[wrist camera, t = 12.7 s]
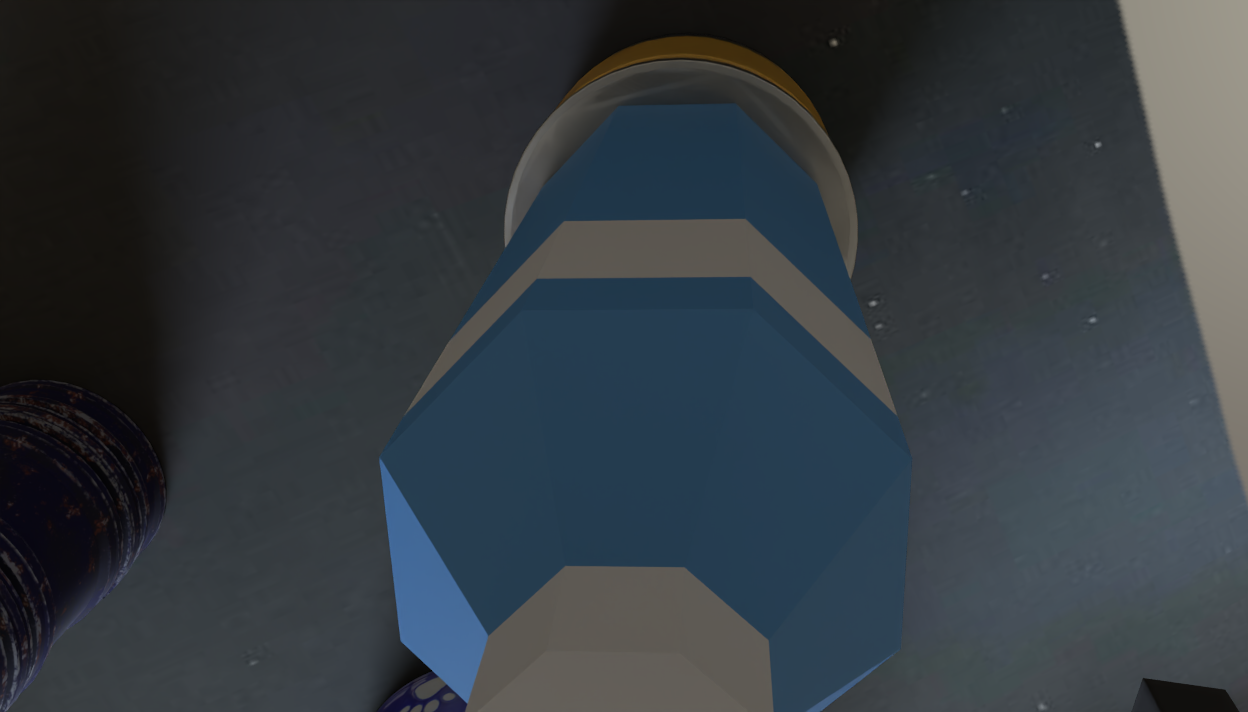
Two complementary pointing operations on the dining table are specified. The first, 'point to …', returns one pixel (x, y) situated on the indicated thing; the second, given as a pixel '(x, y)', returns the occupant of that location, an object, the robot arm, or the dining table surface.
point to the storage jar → (65, 515)
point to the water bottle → (656, 445)
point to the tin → (690, 77)
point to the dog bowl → (425, 697)
